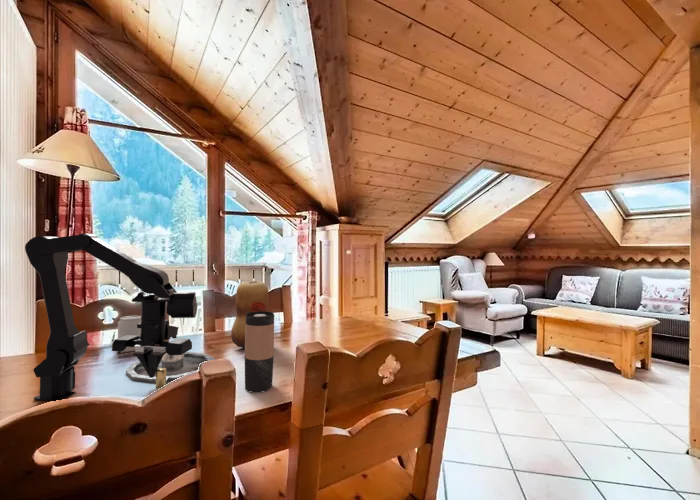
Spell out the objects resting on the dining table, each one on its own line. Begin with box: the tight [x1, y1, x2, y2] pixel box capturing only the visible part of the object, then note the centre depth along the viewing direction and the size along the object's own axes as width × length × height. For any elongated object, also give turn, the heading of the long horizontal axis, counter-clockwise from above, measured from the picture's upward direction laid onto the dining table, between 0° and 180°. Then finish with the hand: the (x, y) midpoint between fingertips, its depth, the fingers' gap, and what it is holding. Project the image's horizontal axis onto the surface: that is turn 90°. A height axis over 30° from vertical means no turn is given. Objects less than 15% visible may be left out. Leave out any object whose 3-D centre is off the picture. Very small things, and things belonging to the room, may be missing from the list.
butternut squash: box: [230, 279, 269, 349], centre depth 130 cm, size 14×13×25 cm
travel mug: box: [244, 310, 275, 393], centre depth 95 cm, size 8×8×20 cm
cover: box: [161, 353, 184, 370], centre depth 106 cm, size 6×6×5 cm
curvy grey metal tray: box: [125, 351, 215, 389], centre depth 104 cm, size 28×23×5 cm
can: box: [117, 315, 141, 354], centre depth 123 cm, size 8×8×12 cm
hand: (152, 377), depth 92 cm, fingers closed
